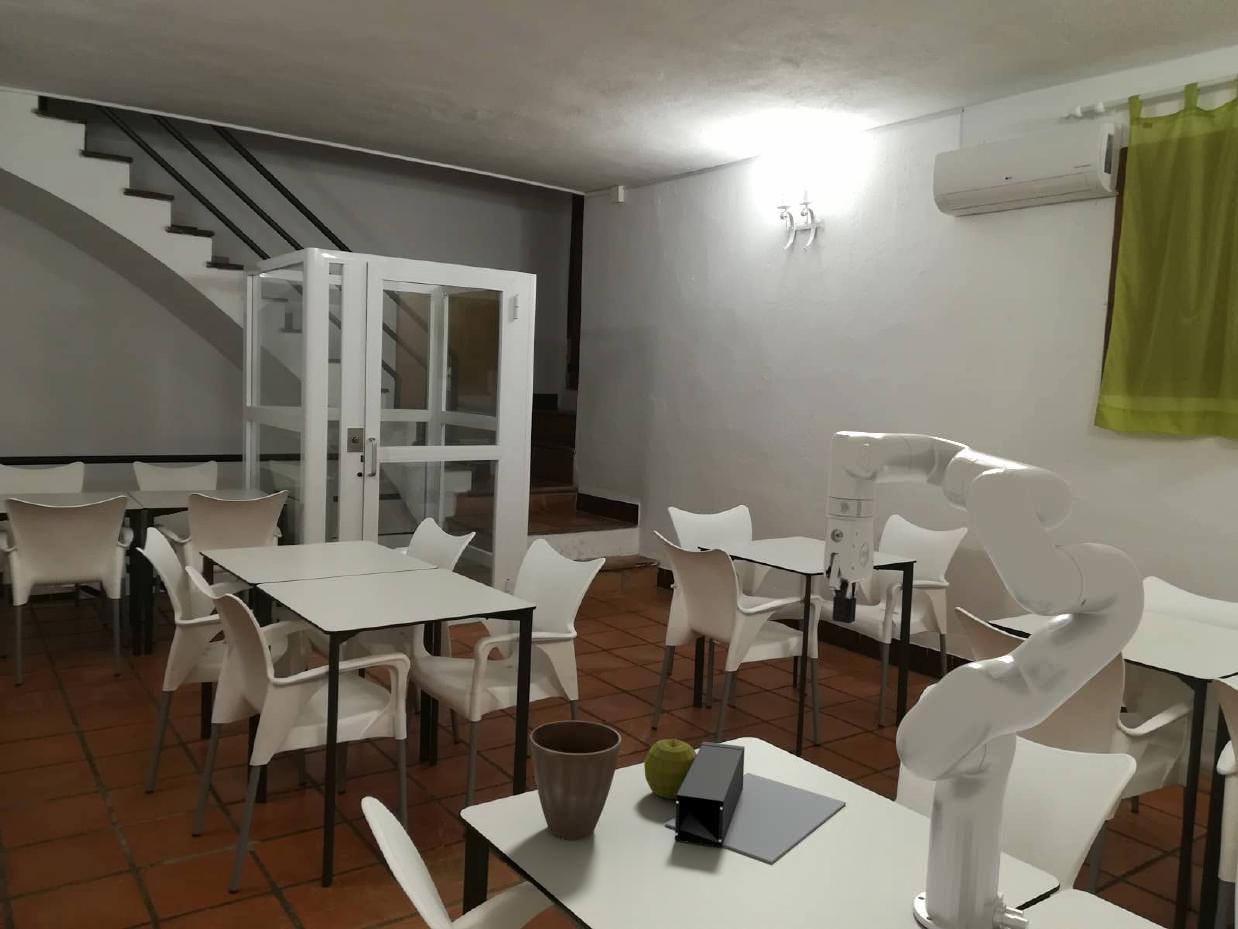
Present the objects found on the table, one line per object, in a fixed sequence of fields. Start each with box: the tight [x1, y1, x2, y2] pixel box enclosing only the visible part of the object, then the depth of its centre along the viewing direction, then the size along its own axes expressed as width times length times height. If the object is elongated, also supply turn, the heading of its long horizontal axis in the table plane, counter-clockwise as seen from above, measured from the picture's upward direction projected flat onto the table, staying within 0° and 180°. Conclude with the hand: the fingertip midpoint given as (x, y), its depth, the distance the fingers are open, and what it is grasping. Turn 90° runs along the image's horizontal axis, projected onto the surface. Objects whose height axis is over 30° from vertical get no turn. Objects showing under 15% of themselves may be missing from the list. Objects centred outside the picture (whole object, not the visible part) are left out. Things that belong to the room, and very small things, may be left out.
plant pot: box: [529, 720, 622, 841], centre depth 158 cm, size 15×15×16 cm
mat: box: [664, 772, 847, 865], centre depth 168 cm, size 20×29×1 cm
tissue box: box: [674, 741, 746, 848], centre depth 169 cm, size 8×8×28 cm
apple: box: [643, 736, 697, 800], centre depth 174 cm, size 10×10×11 cm
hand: (843, 621), depth 156 cm, fingers closed
